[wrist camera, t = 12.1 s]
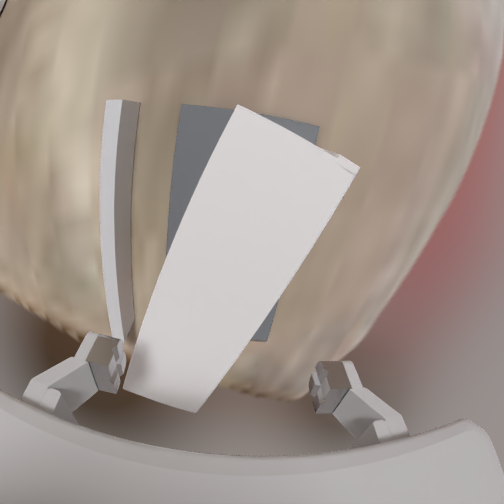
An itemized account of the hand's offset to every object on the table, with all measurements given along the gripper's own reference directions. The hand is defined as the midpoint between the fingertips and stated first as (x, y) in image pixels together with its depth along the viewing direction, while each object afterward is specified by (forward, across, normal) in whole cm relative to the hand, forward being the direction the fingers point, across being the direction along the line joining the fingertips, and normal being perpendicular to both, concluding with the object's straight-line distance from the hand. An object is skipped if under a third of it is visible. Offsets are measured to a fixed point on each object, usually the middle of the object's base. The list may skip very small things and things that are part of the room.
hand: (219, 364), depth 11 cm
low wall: (+13, +9, 0) cm, 16 cm away
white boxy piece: (+13, +1, +1) cm, 13 cm away
